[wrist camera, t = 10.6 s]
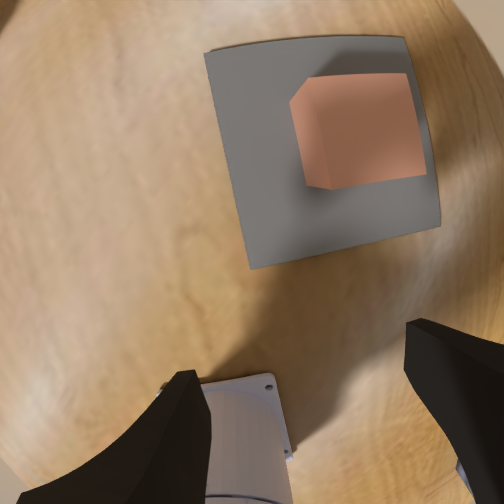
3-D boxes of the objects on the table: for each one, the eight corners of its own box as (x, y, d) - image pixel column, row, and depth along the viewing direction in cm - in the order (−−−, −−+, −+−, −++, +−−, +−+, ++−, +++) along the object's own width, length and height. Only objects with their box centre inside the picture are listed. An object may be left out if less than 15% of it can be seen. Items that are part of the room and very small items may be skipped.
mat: (435, 224, 18) (441, 226, 17) (250, 266, 18) (250, 270, 17) (399, 40, 15) (403, 37, 14) (204, 57, 15) (203, 53, 14)
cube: (382, 172, 16) (426, 174, 12) (306, 185, 16) (331, 189, 12) (366, 94, 15) (405, 73, 11) (289, 102, 15) (308, 77, 11)
